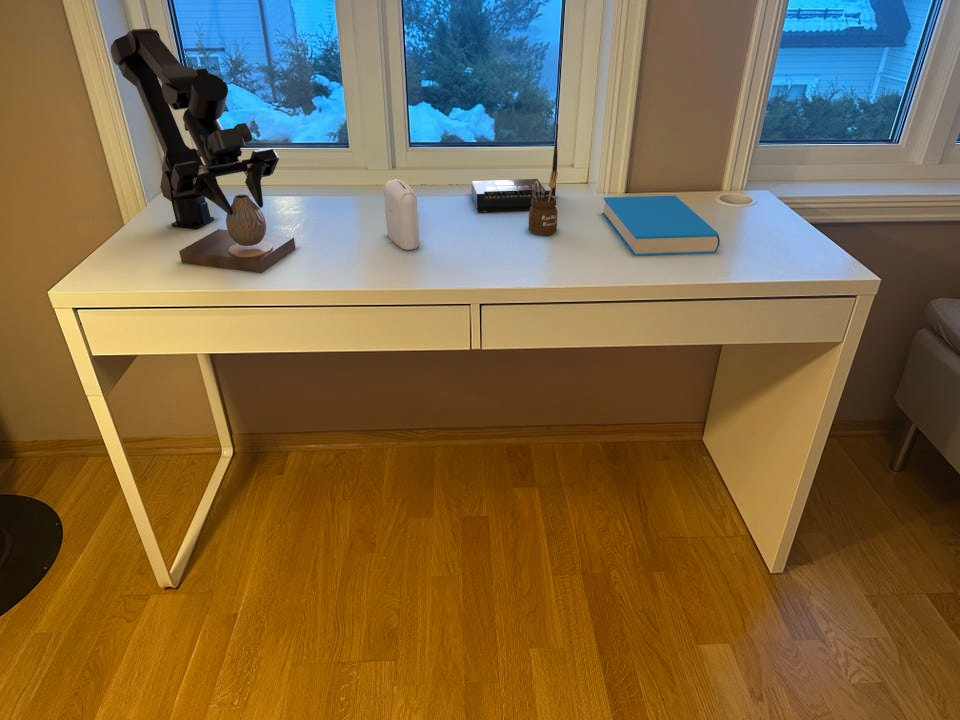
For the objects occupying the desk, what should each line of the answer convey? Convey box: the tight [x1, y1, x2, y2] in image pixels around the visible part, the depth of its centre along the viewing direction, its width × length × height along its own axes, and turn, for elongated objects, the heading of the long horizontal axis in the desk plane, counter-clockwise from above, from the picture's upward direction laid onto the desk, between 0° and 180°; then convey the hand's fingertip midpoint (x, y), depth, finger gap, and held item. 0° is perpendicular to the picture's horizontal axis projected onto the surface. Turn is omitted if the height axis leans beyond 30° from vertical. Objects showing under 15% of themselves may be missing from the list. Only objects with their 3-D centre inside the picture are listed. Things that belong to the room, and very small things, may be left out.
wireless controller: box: [471, 123, 559, 214], centre depth 155 cm, size 20×14×17 cm
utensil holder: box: [528, 170, 559, 237], centre depth 139 cm, size 6×6×12 cm
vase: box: [225, 194, 267, 246], centre depth 124 cm, size 7×7×9 cm
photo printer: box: [383, 178, 420, 251], centre depth 134 cm, size 10×4×12 cm, turn 26°
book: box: [601, 195, 721, 257], centre depth 141 cm, size 17×4×25 cm
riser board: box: [178, 228, 297, 274], centre depth 130 cm, size 17×12×3 cm
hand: (246, 210), depth 122 cm, fingers closed on vase, 5 cm apart
